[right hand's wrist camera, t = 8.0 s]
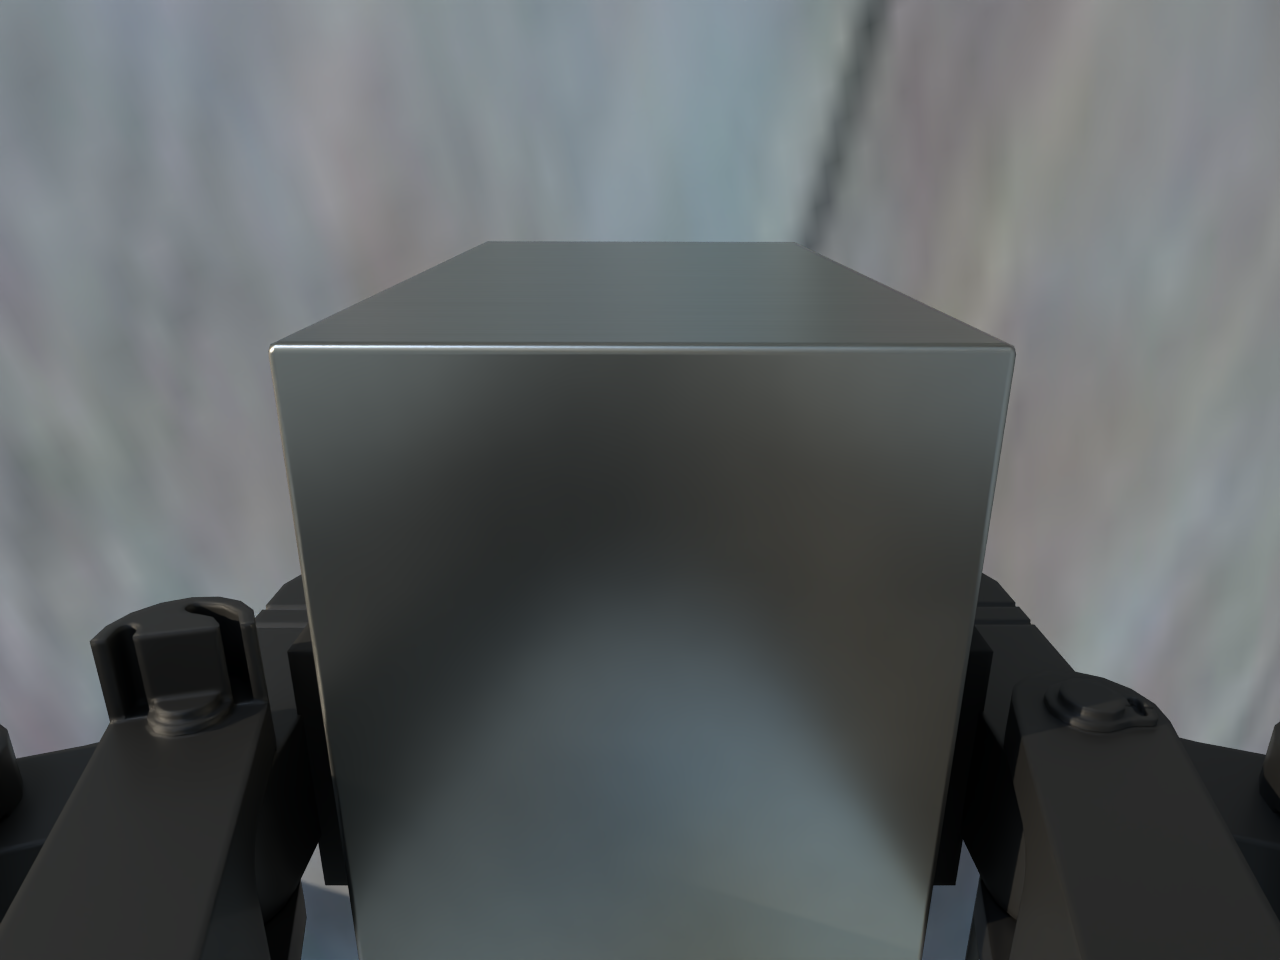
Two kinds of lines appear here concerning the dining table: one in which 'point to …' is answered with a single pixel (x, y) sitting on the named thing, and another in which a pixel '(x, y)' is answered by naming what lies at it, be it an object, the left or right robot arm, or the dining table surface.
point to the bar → (641, 598)
